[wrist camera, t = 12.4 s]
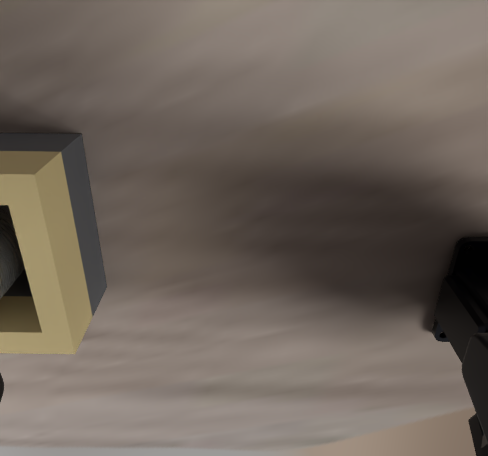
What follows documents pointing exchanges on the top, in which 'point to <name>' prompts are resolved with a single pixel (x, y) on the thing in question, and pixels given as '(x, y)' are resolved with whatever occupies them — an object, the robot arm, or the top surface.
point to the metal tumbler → (8, 251)
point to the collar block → (49, 244)
